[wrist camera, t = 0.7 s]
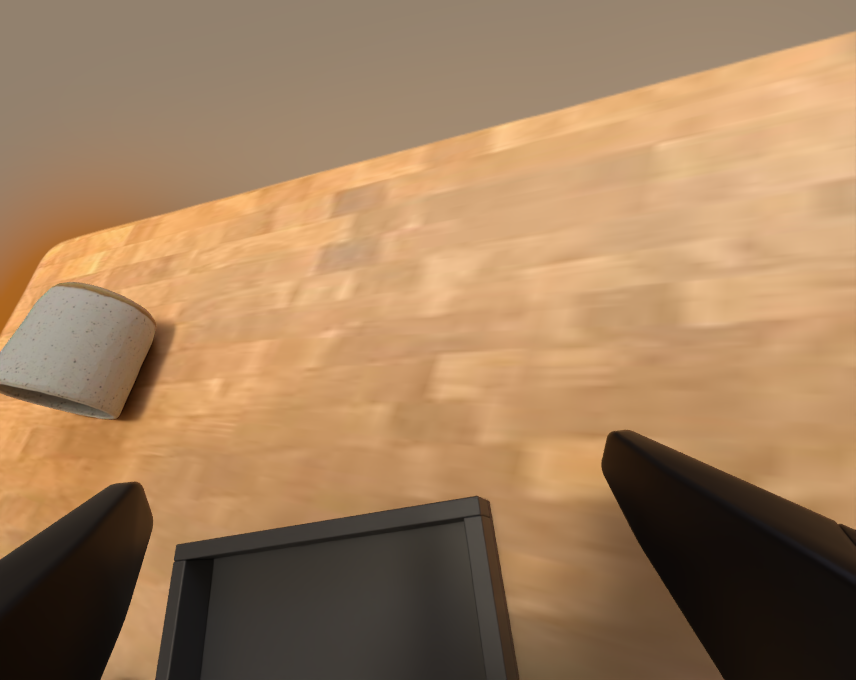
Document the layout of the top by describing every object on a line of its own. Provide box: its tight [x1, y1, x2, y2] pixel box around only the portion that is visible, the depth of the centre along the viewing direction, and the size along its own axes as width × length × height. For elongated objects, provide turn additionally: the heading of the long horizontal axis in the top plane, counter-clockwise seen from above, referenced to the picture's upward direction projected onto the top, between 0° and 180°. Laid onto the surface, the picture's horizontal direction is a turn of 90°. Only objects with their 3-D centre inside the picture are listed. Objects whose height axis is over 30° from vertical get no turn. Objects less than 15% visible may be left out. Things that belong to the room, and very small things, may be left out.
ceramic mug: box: [0, 282, 156, 419], centre depth 31 cm, size 11×8×8 cm
